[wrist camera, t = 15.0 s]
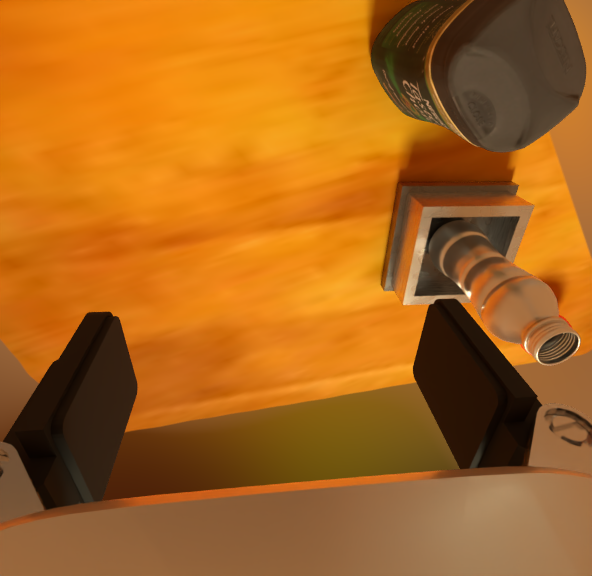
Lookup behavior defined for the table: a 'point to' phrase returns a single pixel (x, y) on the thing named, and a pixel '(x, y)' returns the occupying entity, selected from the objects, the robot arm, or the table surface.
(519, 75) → the coffee jar
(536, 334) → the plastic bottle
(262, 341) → the table surface
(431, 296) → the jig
